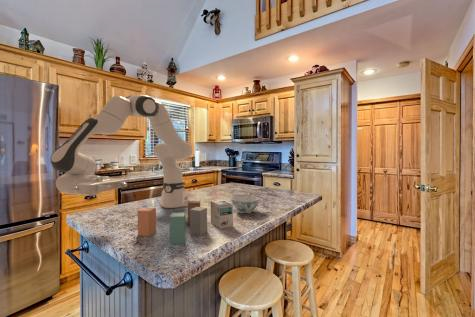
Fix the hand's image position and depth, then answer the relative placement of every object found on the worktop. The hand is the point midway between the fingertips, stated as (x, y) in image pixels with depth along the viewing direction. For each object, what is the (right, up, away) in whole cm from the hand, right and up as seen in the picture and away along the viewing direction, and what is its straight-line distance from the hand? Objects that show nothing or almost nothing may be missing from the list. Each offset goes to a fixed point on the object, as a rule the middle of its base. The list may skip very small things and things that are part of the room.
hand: (118, 186), depth 98 cm
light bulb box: (+43, -19, +9) cm, 47 cm away
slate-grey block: (+34, -19, -1) cm, 39 cm away
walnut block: (+30, -18, +11) cm, 37 cm away
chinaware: (+54, -18, +30) cm, 65 cm away
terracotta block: (+13, -19, -2) cm, 23 cm away
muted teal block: (+28, -19, -10) cm, 35 cm away
